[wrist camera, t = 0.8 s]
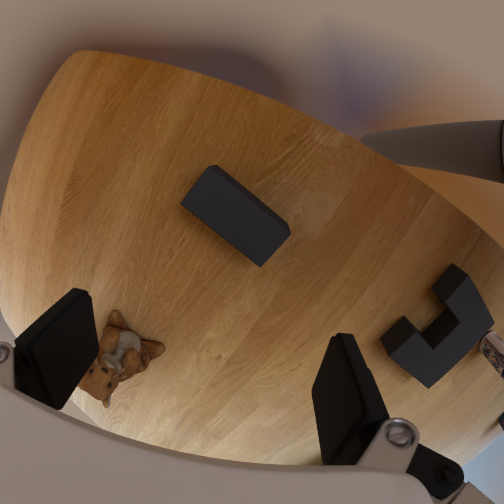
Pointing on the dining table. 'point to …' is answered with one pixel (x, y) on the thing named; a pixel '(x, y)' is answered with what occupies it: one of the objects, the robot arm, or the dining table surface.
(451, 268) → the base pad
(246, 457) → the dining table surface
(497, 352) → the beer can
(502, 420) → the soda can
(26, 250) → the dining table surface
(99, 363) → the stuffed squirrel
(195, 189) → the pad
